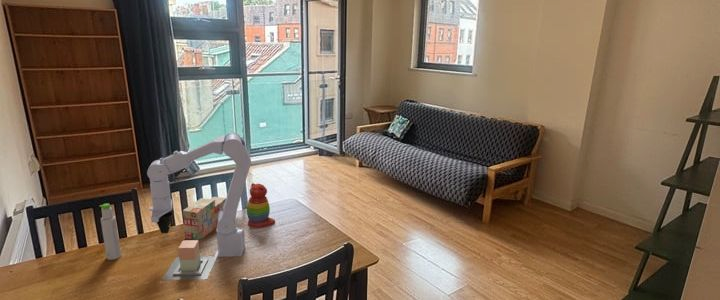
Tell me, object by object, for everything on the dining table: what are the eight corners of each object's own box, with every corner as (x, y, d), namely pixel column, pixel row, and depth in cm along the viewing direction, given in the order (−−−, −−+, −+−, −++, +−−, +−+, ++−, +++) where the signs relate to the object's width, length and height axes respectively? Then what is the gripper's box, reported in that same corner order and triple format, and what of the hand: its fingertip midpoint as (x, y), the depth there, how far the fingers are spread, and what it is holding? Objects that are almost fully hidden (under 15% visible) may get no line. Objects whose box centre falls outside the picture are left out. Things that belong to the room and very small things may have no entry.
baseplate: (217, 257, 145) (217, 254, 144) (206, 280, 131) (206, 277, 131) (176, 258, 143) (176, 255, 143) (161, 281, 130) (161, 278, 130)
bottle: (109, 254, 145) (101, 202, 139) (122, 252, 146) (115, 201, 140) (104, 260, 140) (96, 207, 135) (118, 259, 142) (111, 206, 136)
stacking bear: (277, 223, 172) (276, 184, 167) (258, 231, 165) (256, 190, 160) (260, 215, 179) (259, 177, 174) (241, 223, 171) (239, 184, 166)
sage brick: (200, 263, 140) (199, 251, 139) (196, 271, 135) (195, 259, 134) (185, 263, 139) (184, 252, 138) (180, 272, 135) (179, 260, 133)
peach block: (199, 251, 139) (198, 240, 137) (195, 259, 134) (194, 247, 133) (184, 252, 138) (183, 240, 137) (179, 260, 133) (178, 248, 132)
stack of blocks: (215, 215, 177) (213, 189, 174) (228, 217, 176) (226, 191, 173) (185, 239, 157) (182, 209, 154) (199, 241, 156) (197, 211, 152)
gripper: (156, 187, 143) (160, 222, 147) (139, 204, 129) (144, 242, 133) (177, 187, 144) (181, 222, 147) (162, 204, 130) (166, 242, 134)
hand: (165, 232), depth 140 cm, fingers closed
